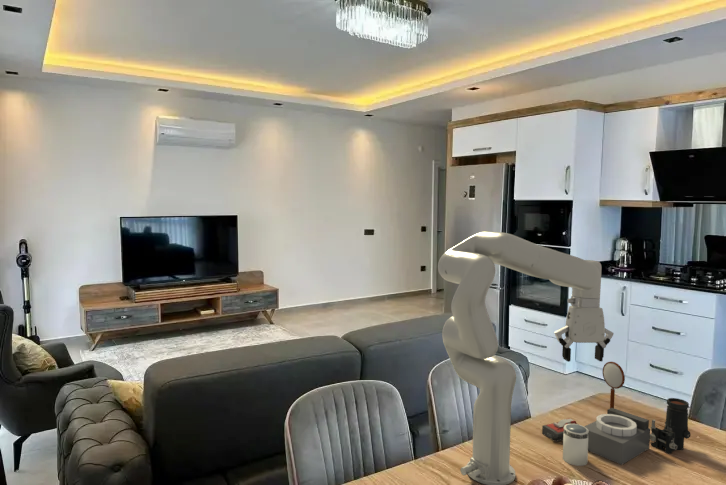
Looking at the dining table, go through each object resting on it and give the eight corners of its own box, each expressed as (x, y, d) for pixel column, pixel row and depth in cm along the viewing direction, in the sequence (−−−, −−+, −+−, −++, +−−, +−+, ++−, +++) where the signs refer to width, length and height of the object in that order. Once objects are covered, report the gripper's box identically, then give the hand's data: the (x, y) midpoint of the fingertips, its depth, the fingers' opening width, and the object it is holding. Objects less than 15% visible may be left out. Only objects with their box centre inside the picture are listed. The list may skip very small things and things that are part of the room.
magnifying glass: (623, 426, 160) (626, 365, 159) (619, 427, 160) (622, 366, 158) (603, 415, 168) (605, 358, 167) (599, 416, 168) (601, 358, 166)
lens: (579, 468, 135) (580, 435, 134) (557, 458, 140) (559, 427, 139) (592, 461, 138) (593, 429, 138) (570, 451, 144) (572, 421, 143)
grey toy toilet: (621, 464, 137) (623, 435, 136) (580, 447, 146) (581, 419, 146) (649, 448, 146) (650, 420, 145) (609, 433, 156) (610, 407, 155)
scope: (650, 399, 147) (673, 394, 151) (647, 444, 148) (671, 438, 152) (676, 409, 140) (700, 404, 144) (674, 457, 141) (697, 450, 145)
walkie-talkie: (558, 447, 147) (607, 435, 155) (558, 432, 147) (608, 421, 155) (537, 434, 155) (585, 423, 163) (537, 420, 155) (585, 410, 163)
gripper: (562, 304, 141) (559, 364, 142) (621, 305, 142) (618, 364, 143) (550, 300, 148) (548, 356, 149) (606, 300, 149) (604, 356, 150)
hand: (582, 360), depth 146 cm, fingers open, 9 cm apart
